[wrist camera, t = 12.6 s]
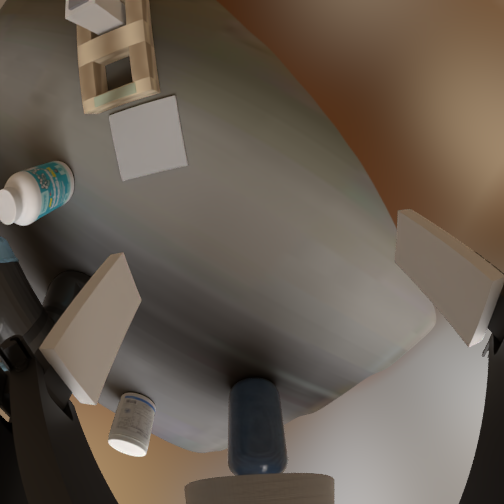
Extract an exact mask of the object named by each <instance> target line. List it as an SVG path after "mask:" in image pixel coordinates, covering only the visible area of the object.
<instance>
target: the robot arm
mask: <svg viewBox="0 0 504 504" xmlns="http://www.w3.org/2000/svg"><path fill="white" fill-rule="evenodd" d="M395 263H396V264H397V265H398V266H399V267H400V268H401V269H402V270H403V271H404V272H405V273H406V274H407V275H408V276H409V277H410V279H411V280H412V281H413V282H414V283H415V284H416V285H417V286H418V287H419V288H420V290H421V291H422V292H423V293H424V294H425V295H426V296H427V297H428V299H429V300H430V301H431V302H432V303H433V304H434V305H435V307H436V308H437V309H438V310H439V311H440V312H441V314H442V315H443V316H444V317H445V318H446V320H447V321H448V322H449V323H450V325H451V326H452V327H453V328H454V329H455V331H456V332H457V333H458V334H459V336H460V337H461V338H462V340H463V341H464V342H465V343H466V345H467V346H468V347H471V346H473V345H475V344H477V343H478V342H481V341H482V340H483V337H484V335H485V333H486V330H487V328H488V329H489V330H490V331H491V332H492V334H491V336H490V339H489V341H488V343H487V345H486V347H485V349H484V351H483V354H482V357H484V356H485V354H486V352H487V351H488V350H489V355H488V358H489V363H488V379H487V390H486V399H485V406H484V413H483V419H482V425H481V430H480V435H479V440H478V444H477V449H476V452H475V457H474V460H473V464H472V467H471V470H470V474H469V477H468V480H467V483H466V486H465V489H464V492H463V494H462V497H461V500H460V502H459V504H504V273H502V272H501V271H500V270H499V269H497V268H496V267H495V266H494V265H492V264H490V262H488V261H487V260H484V258H483V257H482V256H481V255H479V254H478V253H477V252H475V251H473V250H471V249H470V248H469V247H467V246H466V245H464V244H463V243H462V242H460V241H459V240H457V239H456V238H454V237H453V236H452V235H450V234H448V233H447V232H446V231H444V230H443V229H441V228H440V227H438V226H437V225H435V224H434V223H432V222H430V221H429V220H427V219H426V218H424V217H423V216H421V215H419V214H418V213H416V212H414V211H413V210H411V209H407V210H399V211H398V221H397V238H396V251H395ZM140 302H141V298H140V295H139V293H138V290H137V288H136V285H135V282H134V280H133V277H132V275H131V272H130V269H129V266H128V264H127V261H126V258H125V255H124V252H122V253H117V254H112V255H110V256H109V257H108V258H107V259H106V260H105V262H104V263H103V264H102V265H101V266H100V267H99V269H98V270H97V271H96V272H95V273H94V275H93V276H92V277H89V276H87V275H85V274H83V273H80V272H76V271H66V272H62V273H60V274H59V275H58V276H57V277H56V278H55V279H54V280H53V281H52V282H51V284H50V285H49V287H48V291H47V293H46V296H45V299H44V302H43V305H42V304H41V302H40V301H39V299H38V298H37V296H36V294H35V293H34V291H33V289H32V287H31V286H30V284H29V282H28V280H27V278H26V276H25V274H24V272H23V270H22V268H21V266H20V264H19V260H18V259H17V258H16V257H15V255H14V253H13V251H12V250H11V248H10V246H9V244H8V242H7V240H6V239H5V238H3V237H0V408H1V409H2V410H3V411H4V412H5V413H6V414H7V415H8V416H9V417H10V419H9V422H7V421H6V420H5V419H4V418H3V417H2V416H1V415H0V504H118V502H117V501H116V499H115V497H114V495H113V494H112V492H111V490H110V488H109V486H108V485H107V483H106V481H105V479H104V477H103V475H102V473H101V471H100V469H99V467H98V465H97V463H96V461H95V459H94V456H93V454H92V452H91V450H90V447H89V445H88V442H87V440H86V437H85V435H84V432H83V430H82V427H81V425H80V422H79V419H78V416H77V413H76V411H75V407H74V405H73V404H72V402H71V401H70V400H69V398H70V396H71V394H72V393H73V395H74V396H75V397H76V398H77V399H78V400H79V402H80V403H85V404H91V405H96V404H97V402H98V399H99V396H100V394H101V391H102V389H103V386H104V384H105V381H106V379H107V376H108V374H109V371H110V369H111V367H112V364H113V362H114V359H115V357H116V355H117V352H118V350H119V348H120V346H121V343H122V341H123V339H124V337H125V334H126V332H127V330H128V328H129V326H130V324H131V321H132V319H133V317H134V315H135V313H136V311H137V309H138V307H139V305H140Z"/></svg>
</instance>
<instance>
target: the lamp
mask: <svg viewBox="0 0 504 504" xmlns="http://www.w3.org/2000/svg"><path fill="white" fill-rule="evenodd" d="M287 464H288V456H287V449H286V441H285V433H284V425H283V417H282V410H281V402H280V395H279V392H278V389H277V388H276V386H275V385H274V384H273V383H272V382H270V381H268V380H266V379H263V378H247V379H243V380H241V381H239V382H237V383H236V384H235V385H234V386H233V387H232V389H231V391H230V393H229V409H228V466H229V469H230V471H231V472H232V473H233V474H234V475H235V476H227V477H216V478H208V479H202V480H198V481H194V482H191V483H189V484H187V485H186V486H185V497H186V504H334V479H333V478H332V477H330V476H328V475H323V474H314V473H283V472H284V470H285V469H286V467H287Z"/></svg>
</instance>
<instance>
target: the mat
mask: <svg viewBox="0 0 504 504" xmlns="http://www.w3.org/2000/svg"><path fill="white" fill-rule="evenodd" d="M109 120H110V126H111V131H112V137H113V142H114V147H115V151H116V156H117V161H118V165H119V170H120V174H121V178H122V181H126V180H129V179H133V178H137V177H141V176H145V175H149V174H153V173H157V172H161V171H165V170H170V169H174V168H179V167H183V166H188V160H187V155H186V150H185V145H184V140H183V134H182V129H181V123H180V118H179V112H178V106H177V100H176V96H175V95H174V96H170V97H167V98H163V99H159V100H156V101H152V102H149V103H145V104H142V105H139V106H136V107H133V108H130V109H127V110H124V111H121V112H118V113H115V114H112V115H110V116H109Z"/></svg>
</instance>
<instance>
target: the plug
mask: <svg viewBox="0 0 504 504" xmlns="http://www.w3.org/2000/svg"><path fill="white" fill-rule="evenodd" d="M65 19H67V20H69V21H71V22H73V23H76V24H78V25H80V26H82V27H84V28H86V29H88V30H90V31H92V32H94V33H96V34H97V35H99V36H101V35H103V34H105V33H108V32H110V31H112V30H115V29H117V28H120V27H122V26H125V25H126V10H125V5H124V4H123V3H122V2H121V1H120V0H66V8H65Z"/></svg>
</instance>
